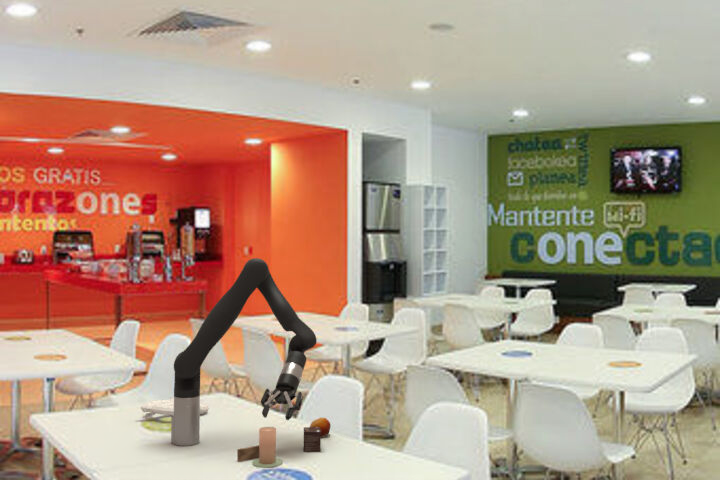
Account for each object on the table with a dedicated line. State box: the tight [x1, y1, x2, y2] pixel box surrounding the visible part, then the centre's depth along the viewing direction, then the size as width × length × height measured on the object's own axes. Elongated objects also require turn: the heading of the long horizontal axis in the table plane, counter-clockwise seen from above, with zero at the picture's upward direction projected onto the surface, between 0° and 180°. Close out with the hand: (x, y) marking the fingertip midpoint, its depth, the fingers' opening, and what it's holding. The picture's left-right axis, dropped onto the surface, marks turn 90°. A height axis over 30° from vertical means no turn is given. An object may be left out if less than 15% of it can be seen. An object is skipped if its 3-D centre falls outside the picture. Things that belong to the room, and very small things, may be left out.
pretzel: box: [140, 397, 210, 416], centre depth 324 cm, size 28×24×6 cm
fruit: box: [309, 417, 331, 438], centre depth 294 cm, size 8×8×8 cm
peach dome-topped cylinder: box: [258, 426, 277, 464], centre depth 260 cm, size 6×6×11 cm
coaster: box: [251, 457, 283, 469], centre depth 260 cm, size 10×10×1 cm
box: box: [303, 426, 322, 453], centre depth 276 cm, size 6×6×7 cm
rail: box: [236, 444, 259, 463], centre depth 265 cm, size 14×1×4 cm, turn 128°
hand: (275, 417), depth 266 cm, fingers open, 8 cm apart
